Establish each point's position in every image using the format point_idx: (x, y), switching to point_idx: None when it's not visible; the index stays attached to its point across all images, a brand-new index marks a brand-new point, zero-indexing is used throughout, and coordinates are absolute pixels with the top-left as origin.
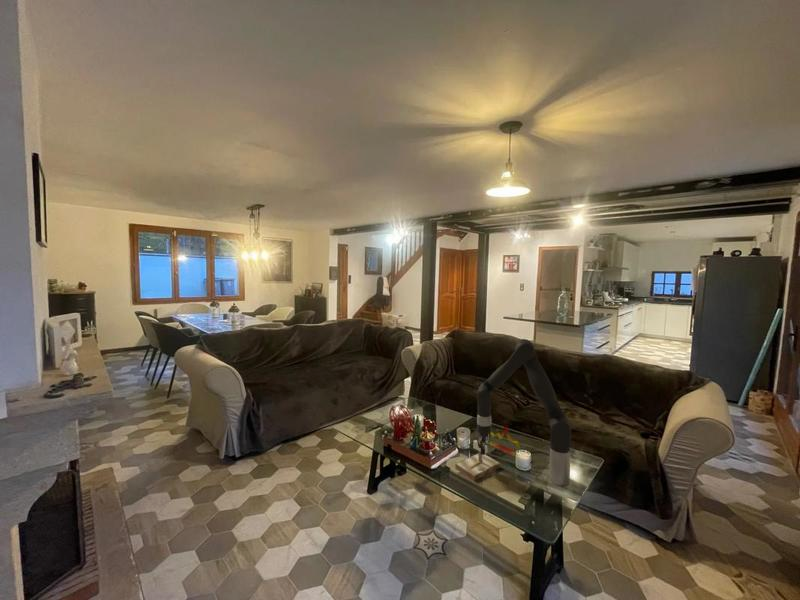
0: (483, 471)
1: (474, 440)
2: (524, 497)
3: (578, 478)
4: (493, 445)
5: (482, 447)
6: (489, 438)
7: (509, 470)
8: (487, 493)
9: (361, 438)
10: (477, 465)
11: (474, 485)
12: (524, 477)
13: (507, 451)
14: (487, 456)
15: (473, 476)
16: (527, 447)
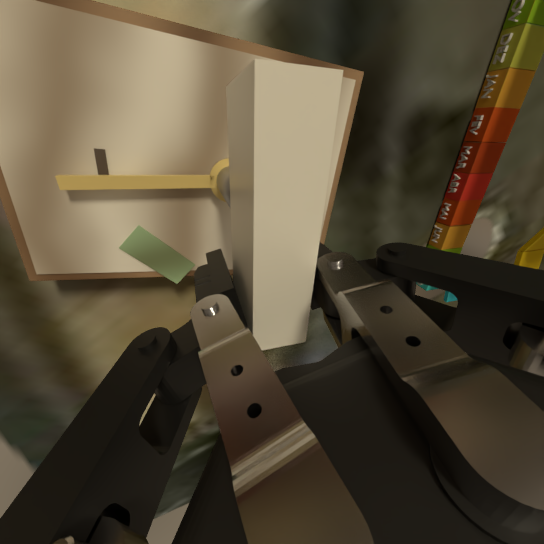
0: (154, 274)
1: (299, 68)
2: (200, 427)
3: None
4: (497, 79)
5: (146, 431)
6: (445, 328)
7: None
8: (57, 371)
9: None
10: (169, 197)
11: (17, 294)
12: (308, 356)
13: (455, 202)
14: (332, 168)
15: (28, 273)
16: (521, 229)
